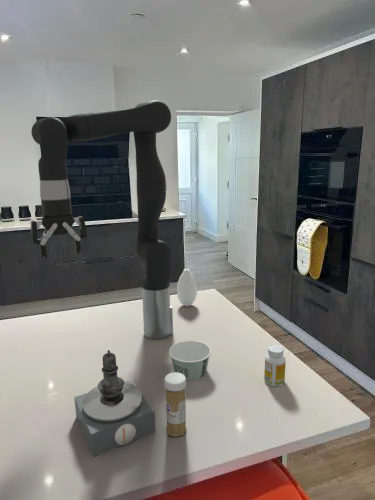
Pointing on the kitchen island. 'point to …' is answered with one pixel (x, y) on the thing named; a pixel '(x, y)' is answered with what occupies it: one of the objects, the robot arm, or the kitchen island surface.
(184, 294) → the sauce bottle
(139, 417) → the kitchen scale
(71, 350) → the kitchen island surface
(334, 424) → the kitchen island surface
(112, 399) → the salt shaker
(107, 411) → the scale pan
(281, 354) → the supplement bottle
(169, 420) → the sprinkles bottle
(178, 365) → the food container
